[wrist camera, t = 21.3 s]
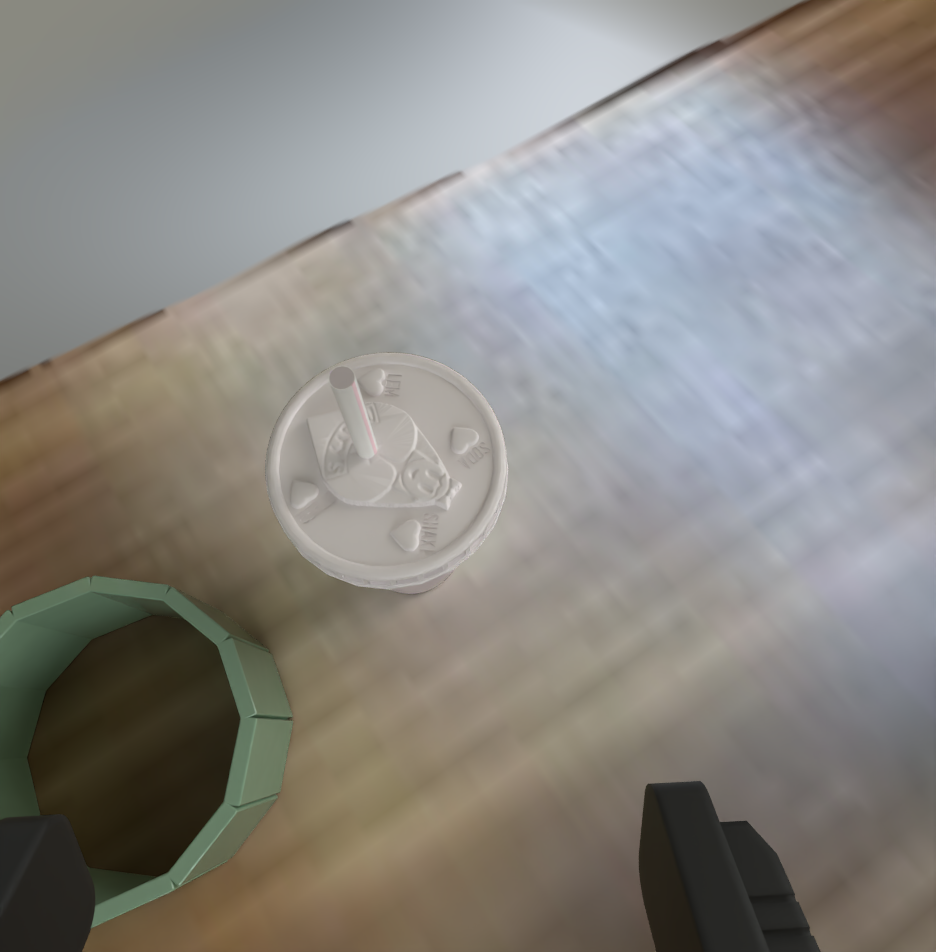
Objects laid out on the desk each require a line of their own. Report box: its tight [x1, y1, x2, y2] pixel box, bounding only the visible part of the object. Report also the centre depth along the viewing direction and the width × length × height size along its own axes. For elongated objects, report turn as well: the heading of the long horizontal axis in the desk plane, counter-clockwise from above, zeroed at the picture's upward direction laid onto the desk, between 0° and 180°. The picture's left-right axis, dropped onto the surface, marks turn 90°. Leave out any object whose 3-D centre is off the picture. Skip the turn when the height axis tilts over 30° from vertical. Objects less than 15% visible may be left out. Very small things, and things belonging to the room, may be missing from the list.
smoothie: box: [265, 352, 508, 594], centre depth 22 cm, size 6×6×14 cm
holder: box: [0, 576, 293, 928], centre depth 25 cm, size 9×9×5 cm
